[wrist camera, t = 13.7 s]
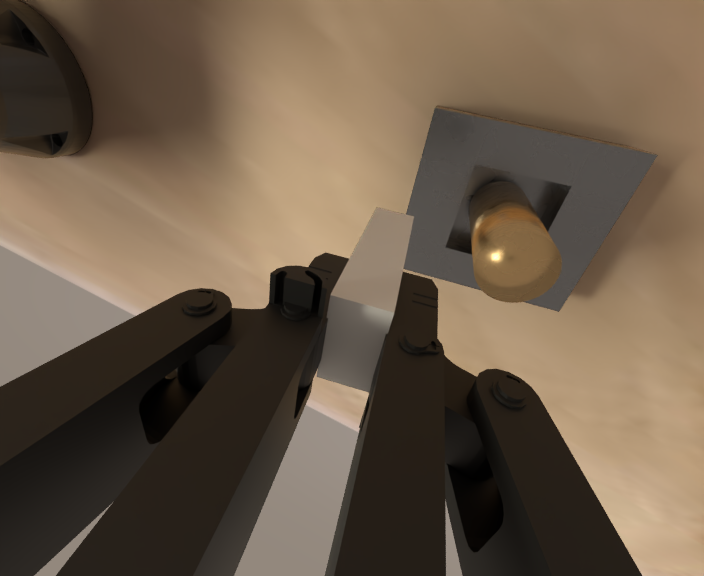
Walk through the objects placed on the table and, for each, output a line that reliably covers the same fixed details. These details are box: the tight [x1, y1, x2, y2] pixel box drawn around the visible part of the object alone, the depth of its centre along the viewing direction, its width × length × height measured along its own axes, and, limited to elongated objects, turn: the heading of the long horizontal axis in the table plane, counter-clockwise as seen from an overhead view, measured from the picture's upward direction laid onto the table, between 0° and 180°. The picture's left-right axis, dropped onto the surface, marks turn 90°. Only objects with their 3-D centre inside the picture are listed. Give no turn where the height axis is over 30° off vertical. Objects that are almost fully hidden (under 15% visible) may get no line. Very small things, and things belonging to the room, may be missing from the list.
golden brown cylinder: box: [469, 181, 562, 302], centre depth 26 cm, size 5×5×12 cm
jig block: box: [403, 106, 657, 312], centre depth 30 cm, size 16×14×4 cm
